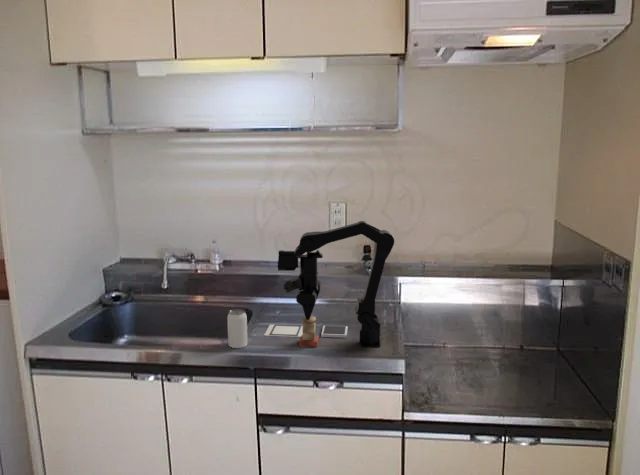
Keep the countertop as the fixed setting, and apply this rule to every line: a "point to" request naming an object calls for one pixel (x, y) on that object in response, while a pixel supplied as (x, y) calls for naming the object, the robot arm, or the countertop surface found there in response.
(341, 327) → the ink pad
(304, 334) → the stamp
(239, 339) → the can
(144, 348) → the countertop surface
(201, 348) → the countertop surface
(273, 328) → the print sheet
